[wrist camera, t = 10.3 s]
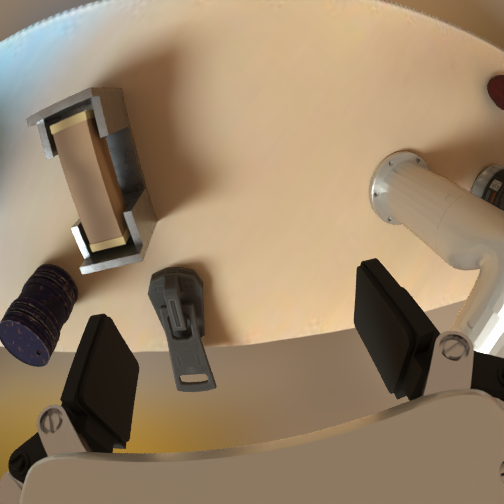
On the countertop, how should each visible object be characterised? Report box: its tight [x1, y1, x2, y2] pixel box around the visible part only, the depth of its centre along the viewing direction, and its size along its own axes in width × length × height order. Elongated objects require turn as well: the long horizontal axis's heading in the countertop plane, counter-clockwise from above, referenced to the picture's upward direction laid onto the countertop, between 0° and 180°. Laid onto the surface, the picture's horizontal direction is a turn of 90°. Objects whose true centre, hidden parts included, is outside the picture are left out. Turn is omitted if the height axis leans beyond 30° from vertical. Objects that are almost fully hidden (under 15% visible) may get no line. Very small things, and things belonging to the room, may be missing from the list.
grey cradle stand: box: [26, 88, 157, 274], centre depth 32 cm, size 8×20×11 cm, turn 9°
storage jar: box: [0, 264, 78, 367], centre depth 39 cm, size 10×10×15 cm
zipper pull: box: [148, 267, 216, 392], centre depth 50 cm, size 9×7×25 cm
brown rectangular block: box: [50, 109, 131, 252], centre depth 31 cm, size 5×16×5 cm, turn 9°
